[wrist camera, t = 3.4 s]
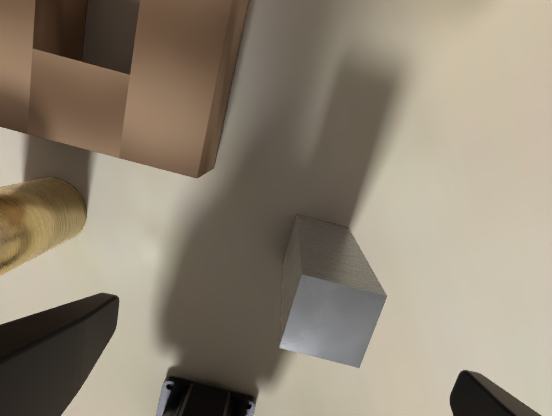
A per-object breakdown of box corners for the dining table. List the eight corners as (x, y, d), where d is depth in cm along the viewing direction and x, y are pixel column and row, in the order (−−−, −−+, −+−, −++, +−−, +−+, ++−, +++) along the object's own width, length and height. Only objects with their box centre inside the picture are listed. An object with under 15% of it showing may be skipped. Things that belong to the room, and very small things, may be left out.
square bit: (332, 275, 20) (359, 367, 13) (283, 262, 20) (279, 347, 13) (348, 227, 20) (387, 296, 12) (296, 214, 20) (301, 274, 12)
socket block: (213, 168, 19) (196, 178, 16) (9, 114, 19) (-53, 112, 15) (263, -70, 16) (256, -121, 13) (20, -138, 16) (-54, -210, 12)
